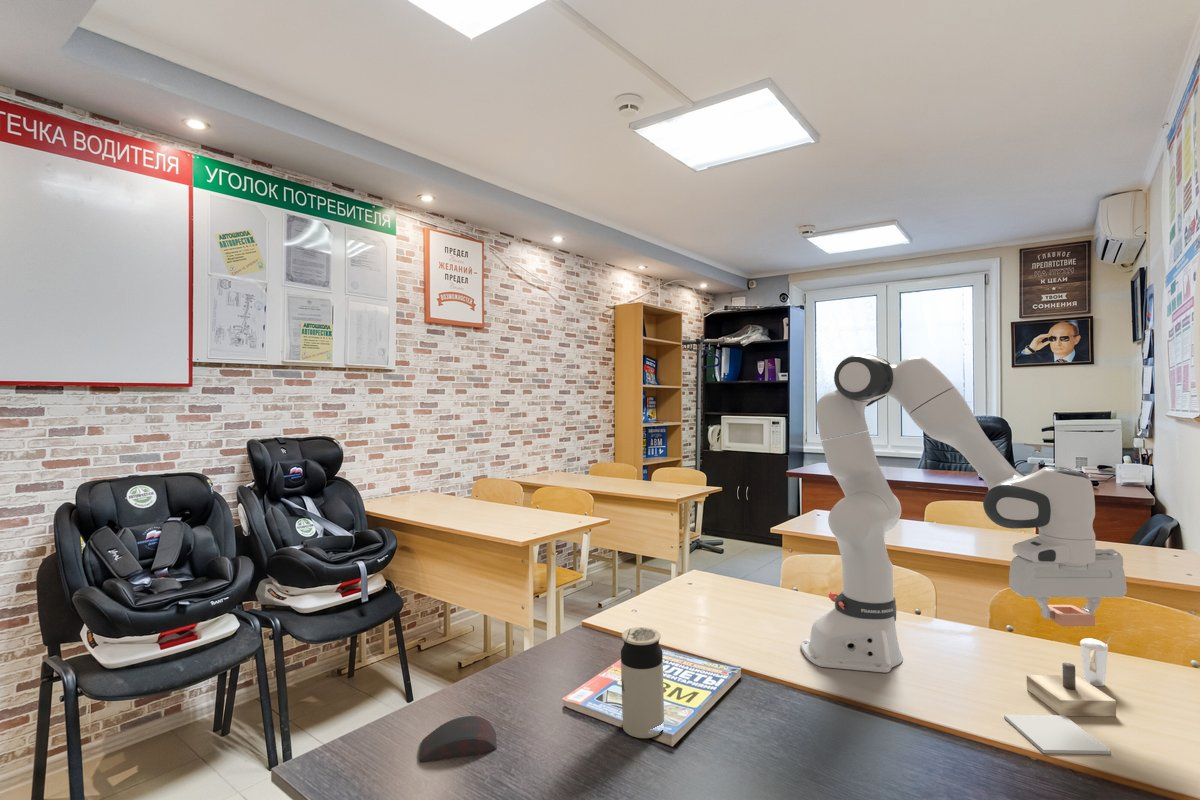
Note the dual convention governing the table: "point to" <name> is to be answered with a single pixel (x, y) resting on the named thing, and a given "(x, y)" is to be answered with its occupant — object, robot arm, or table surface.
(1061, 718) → the mat
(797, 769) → the table surface
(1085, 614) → the pink rectangular frame
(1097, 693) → the peg stand
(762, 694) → the table surface
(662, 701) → the travel mug
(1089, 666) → the milkshake
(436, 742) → the computer mouse
